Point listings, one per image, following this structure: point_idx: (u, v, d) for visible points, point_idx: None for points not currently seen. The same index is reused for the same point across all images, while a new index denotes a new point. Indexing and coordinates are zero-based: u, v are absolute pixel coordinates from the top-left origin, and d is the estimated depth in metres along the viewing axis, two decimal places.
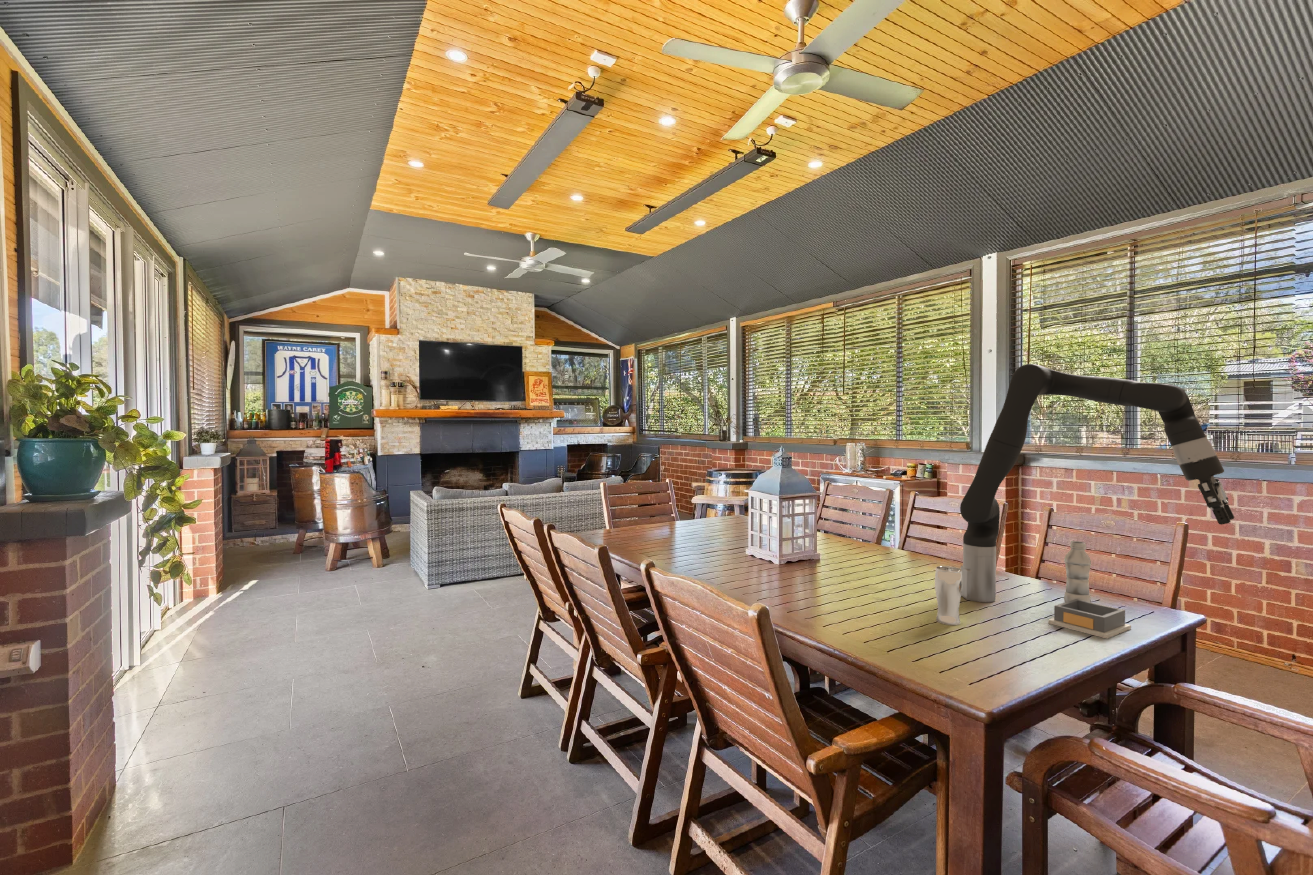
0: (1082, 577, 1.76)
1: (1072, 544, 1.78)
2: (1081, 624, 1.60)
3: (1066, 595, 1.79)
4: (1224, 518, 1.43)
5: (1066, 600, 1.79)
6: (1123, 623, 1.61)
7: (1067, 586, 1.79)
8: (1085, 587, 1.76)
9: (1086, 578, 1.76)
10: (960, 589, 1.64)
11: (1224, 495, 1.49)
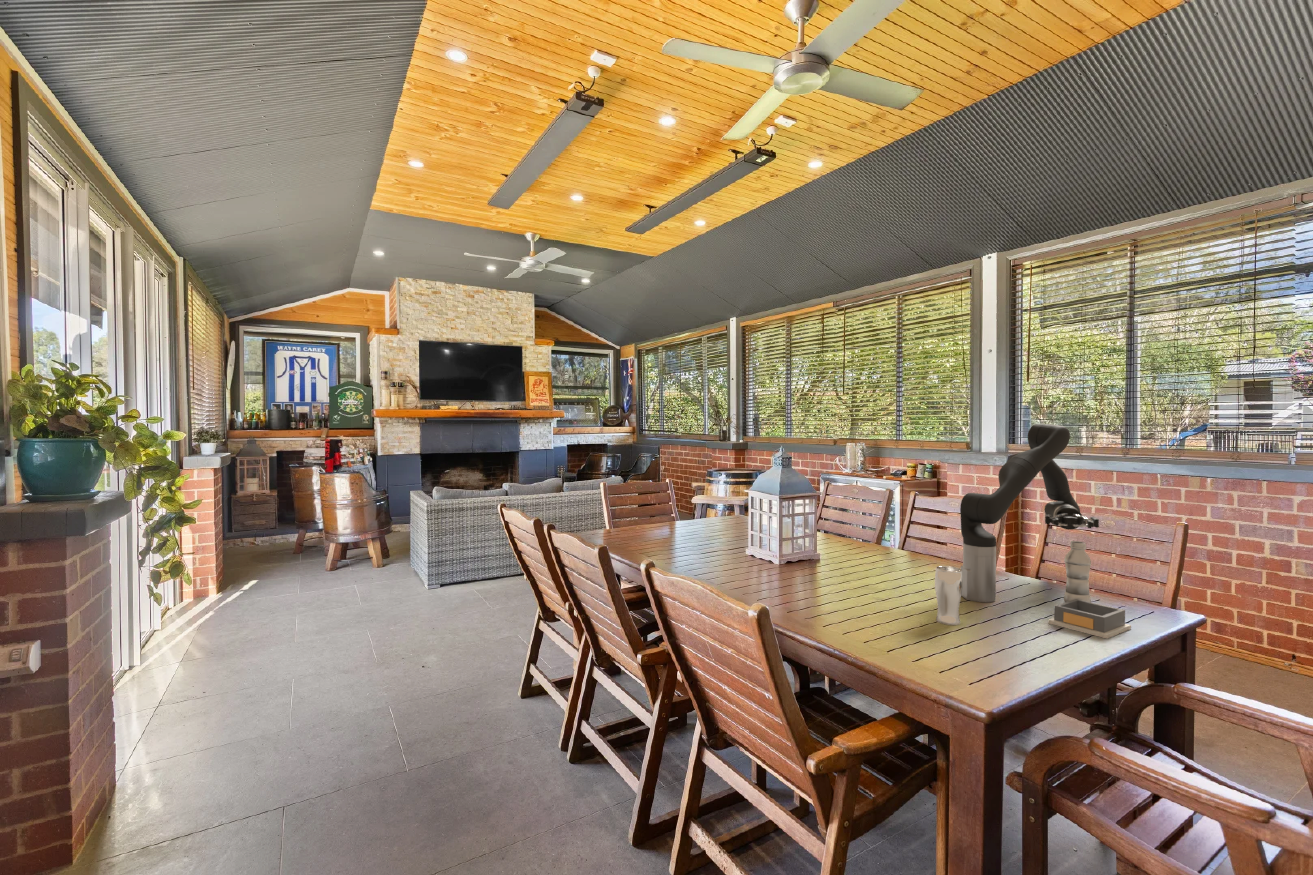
0: (1082, 577, 1.76)
1: (1072, 544, 1.78)
2: (1081, 624, 1.60)
3: (1066, 595, 1.79)
4: None
5: (1066, 600, 1.79)
6: (1123, 623, 1.61)
7: (1067, 586, 1.79)
8: (1085, 587, 1.76)
9: (1086, 578, 1.76)
10: (960, 589, 1.64)
11: (1060, 524, 1.95)
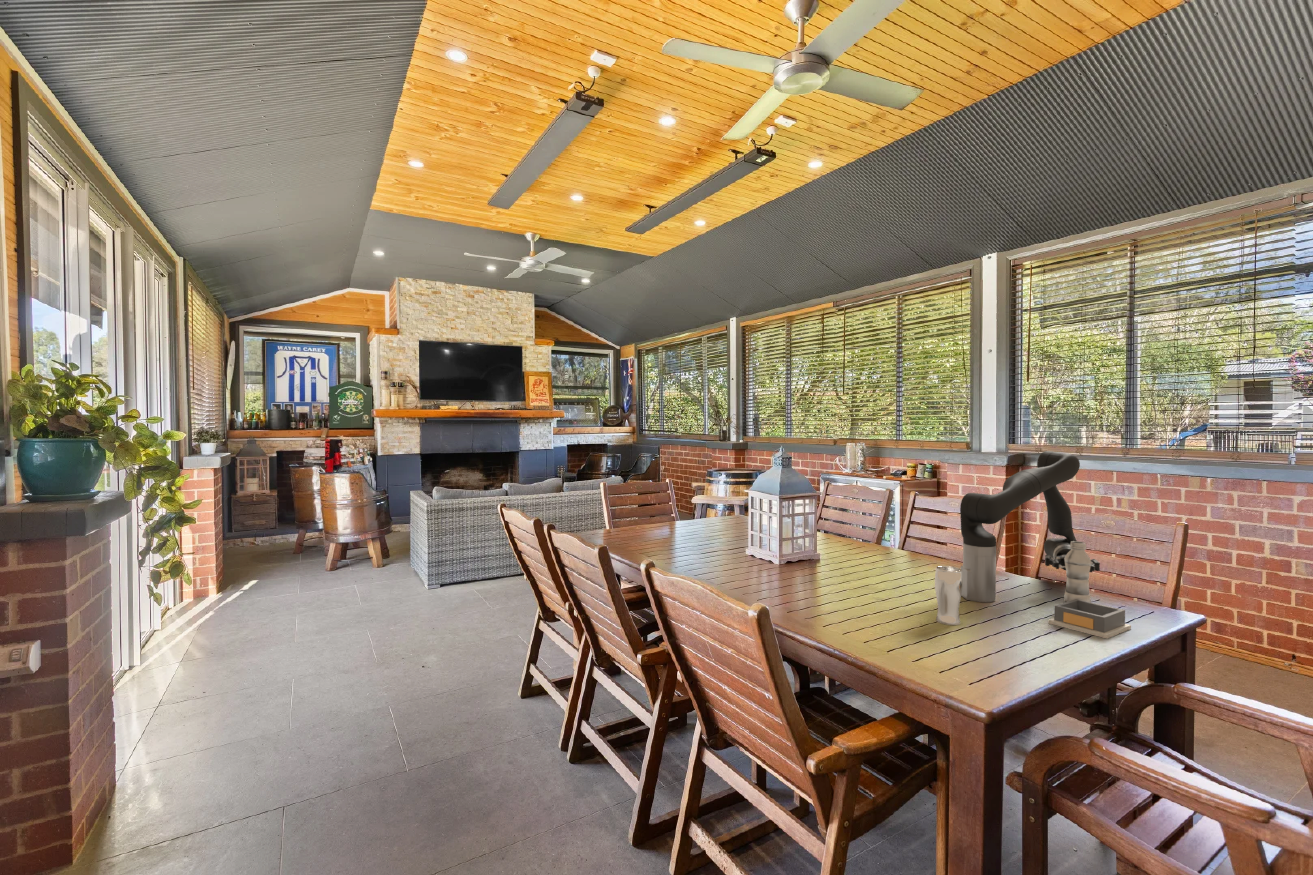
0: (1082, 577, 1.76)
1: (1072, 544, 1.78)
2: (1081, 624, 1.60)
3: (1066, 595, 1.79)
4: None
5: (1066, 600, 1.79)
6: (1123, 623, 1.61)
7: (1067, 586, 1.79)
8: (1085, 587, 1.76)
9: (1086, 578, 1.76)
10: (960, 589, 1.64)
11: (1061, 566, 1.92)
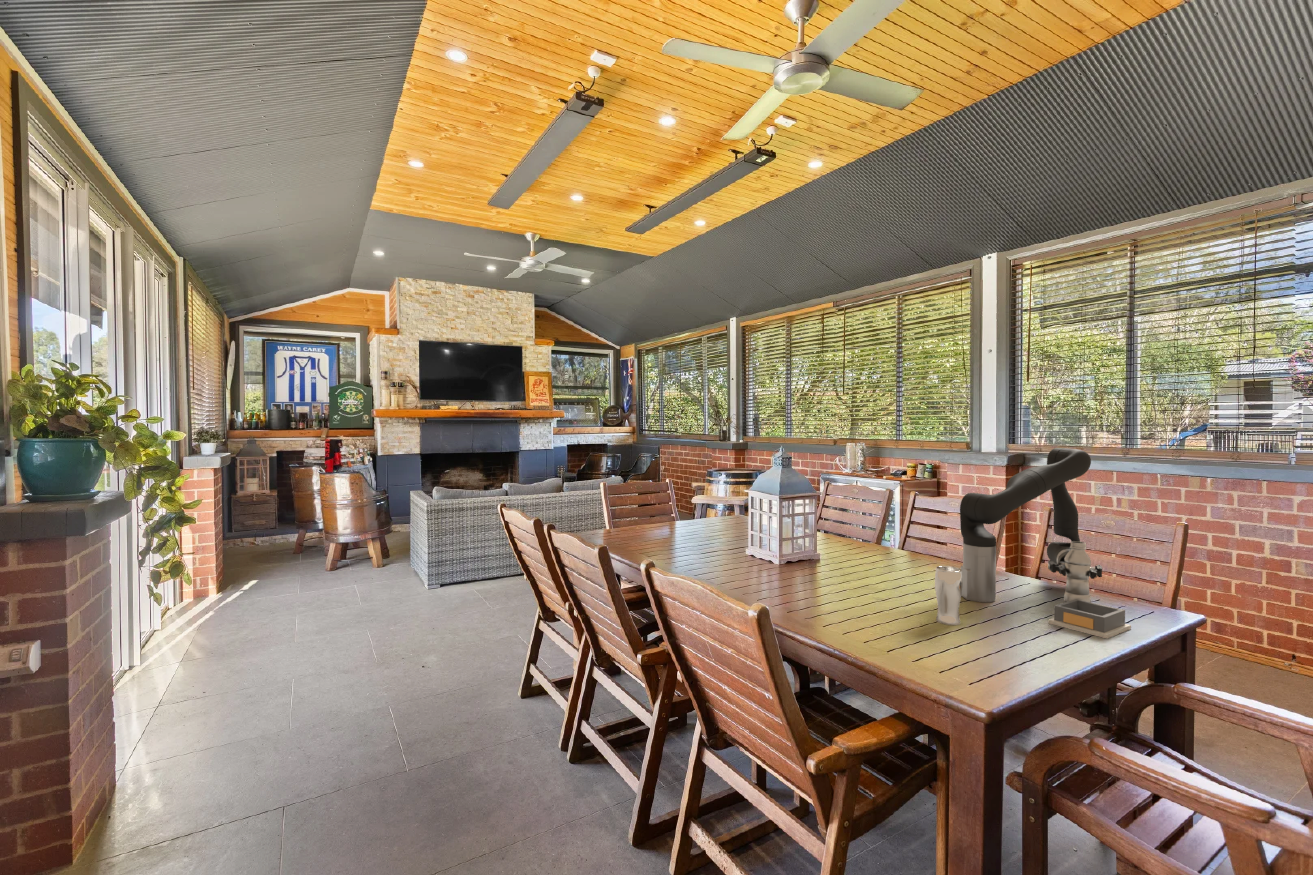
0: (1082, 577, 1.76)
1: (1072, 544, 1.78)
2: (1081, 624, 1.60)
3: (1066, 595, 1.79)
4: None
5: (1066, 600, 1.79)
6: (1123, 623, 1.61)
7: (1067, 586, 1.79)
8: (1085, 587, 1.76)
9: (1086, 578, 1.76)
10: (960, 589, 1.64)
11: None
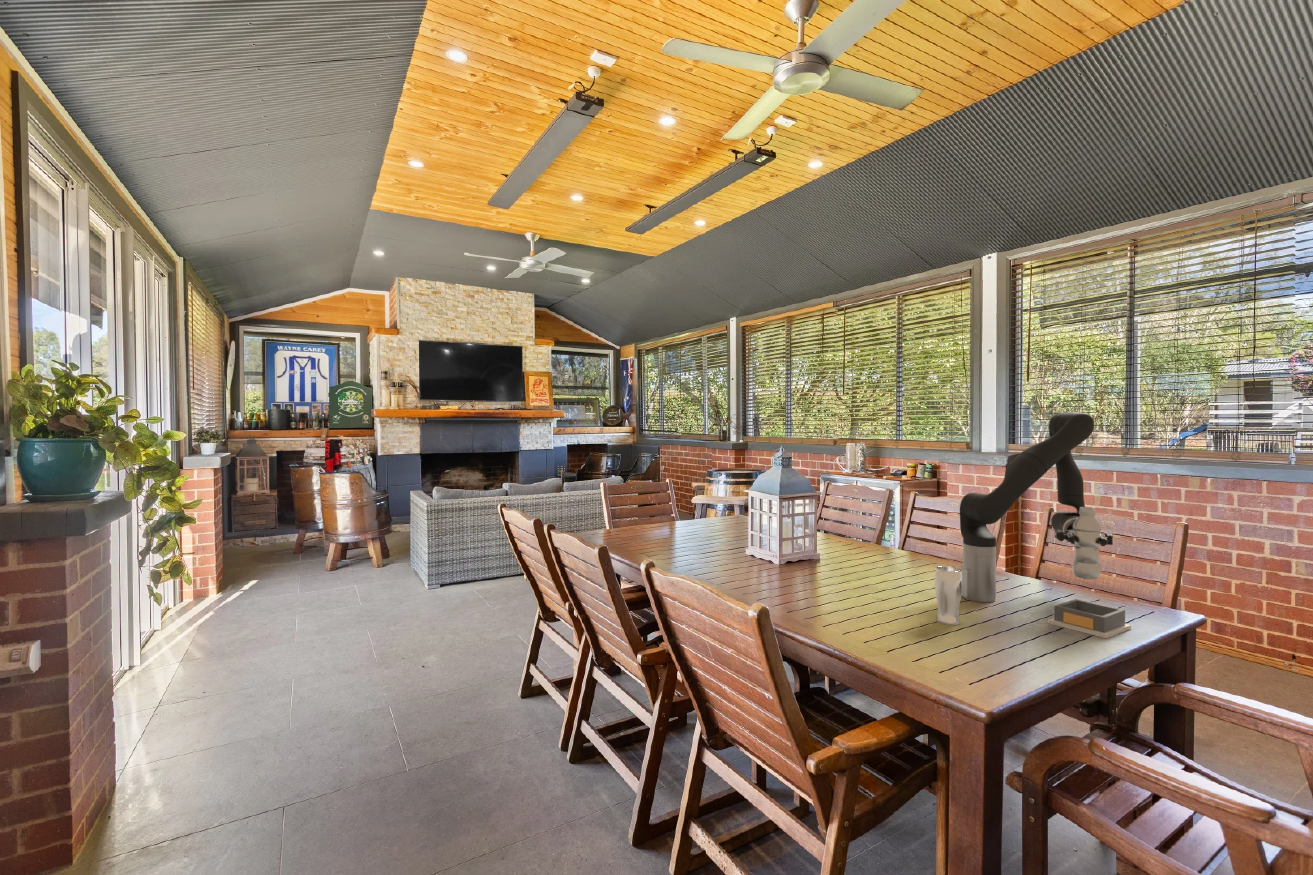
0: (1092, 544, 1.66)
1: (1081, 510, 1.68)
2: (1081, 624, 1.60)
3: (1075, 564, 1.69)
4: None
5: (1075, 569, 1.68)
6: (1123, 623, 1.61)
7: (1076, 555, 1.69)
8: (1095, 555, 1.66)
9: (1096, 546, 1.66)
10: (960, 589, 1.64)
11: None
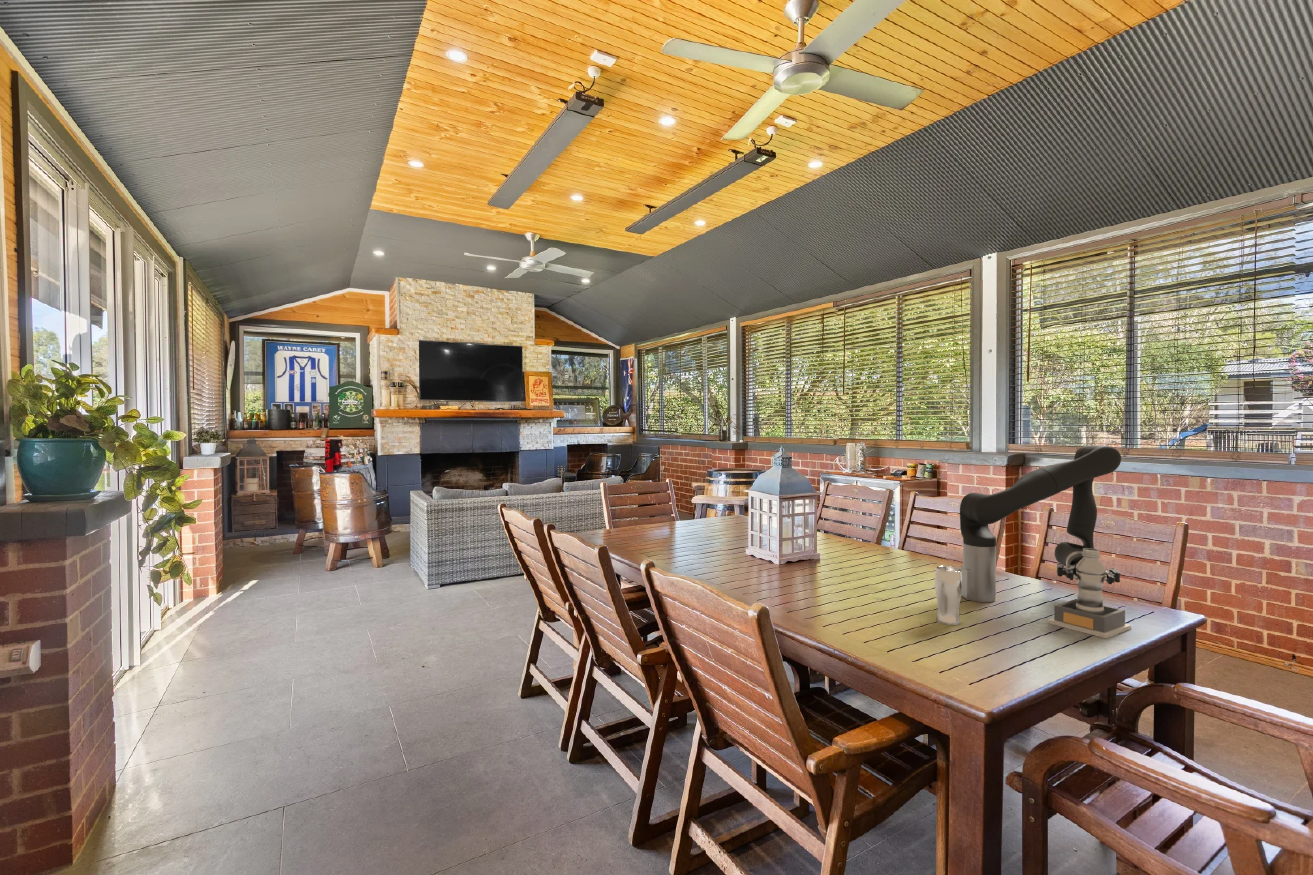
0: (1095, 587, 1.61)
1: (1085, 552, 1.63)
2: (1081, 624, 1.60)
3: (1077, 607, 1.64)
4: None
5: None
6: (1123, 623, 1.61)
7: (1079, 597, 1.64)
8: (1098, 599, 1.61)
9: (1100, 589, 1.61)
10: (960, 589, 1.64)
11: (1075, 577, 1.69)
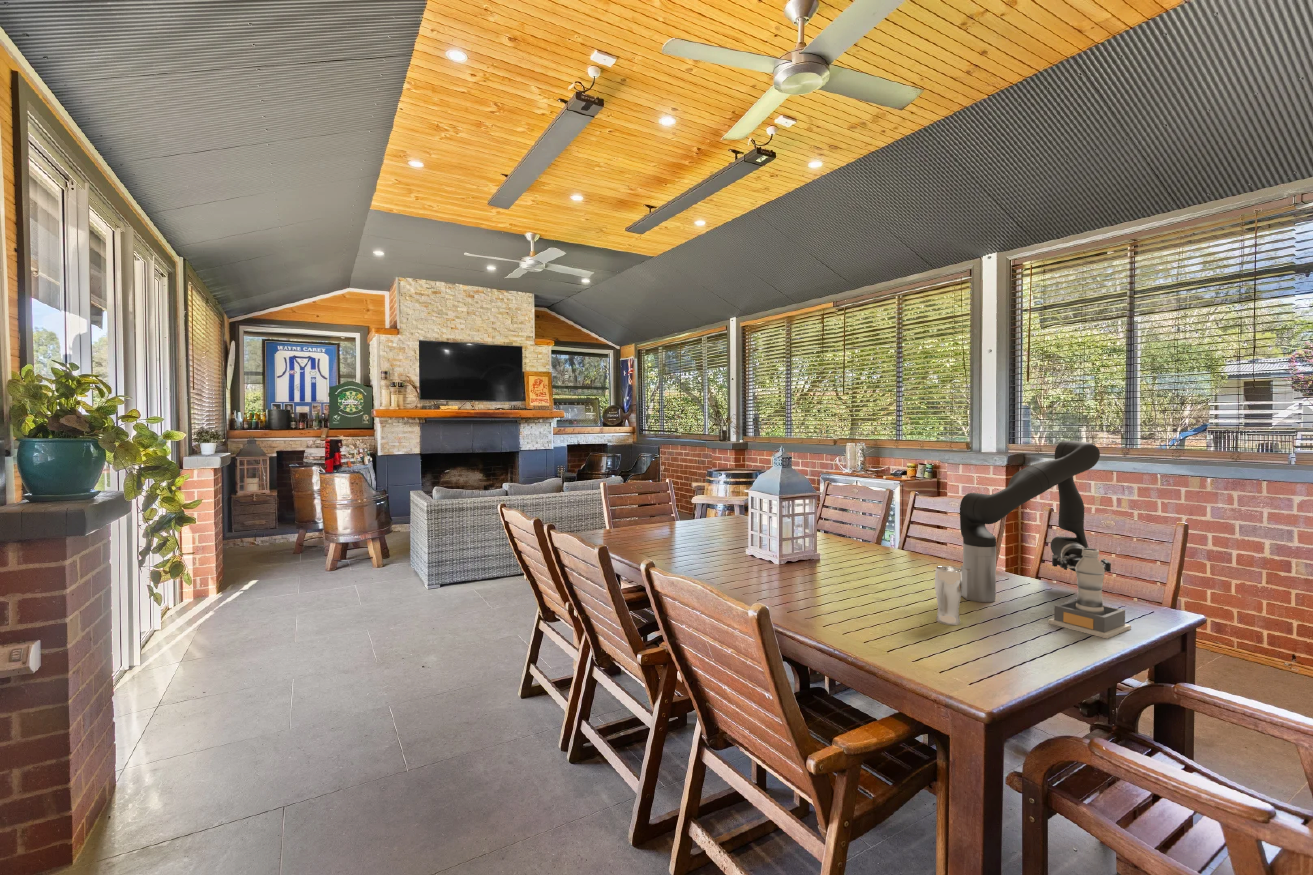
0: (1095, 587, 1.61)
1: (1084, 551, 1.63)
2: (1081, 624, 1.60)
3: (1077, 607, 1.64)
4: None
5: None
6: (1123, 623, 1.61)
7: (1078, 597, 1.64)
8: (1098, 599, 1.61)
9: (1099, 589, 1.61)
10: (960, 589, 1.64)
11: (1069, 567, 1.80)
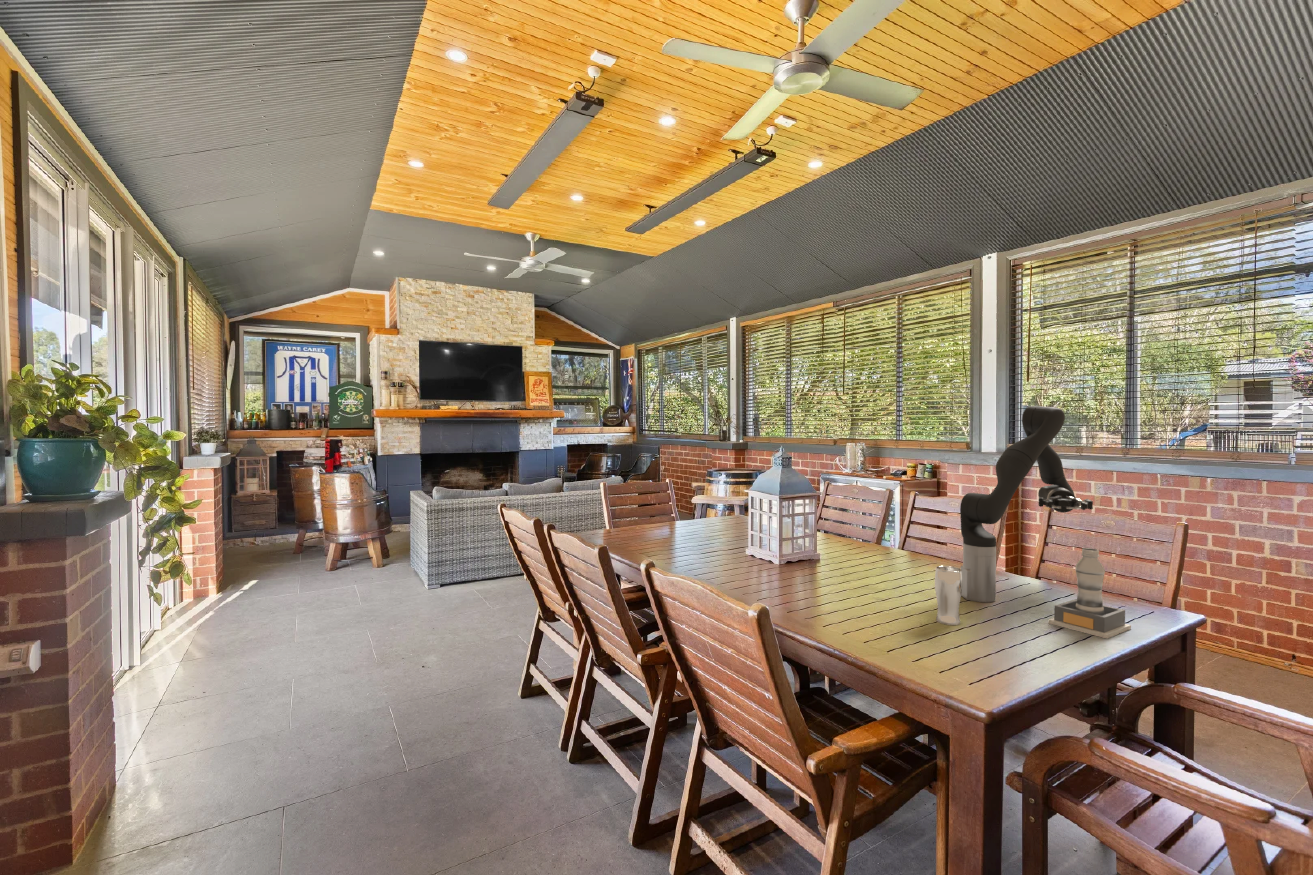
0: (1095, 587, 1.61)
1: (1084, 551, 1.63)
2: (1081, 624, 1.60)
3: (1077, 607, 1.64)
4: None
5: None
6: (1123, 623, 1.61)
7: (1078, 597, 1.64)
8: (1098, 599, 1.61)
9: (1099, 589, 1.61)
10: (960, 589, 1.64)
11: (1054, 507, 1.92)
